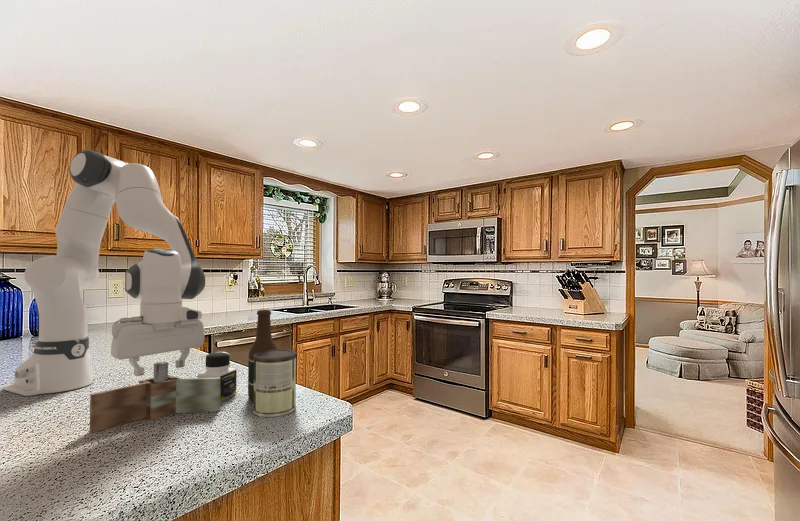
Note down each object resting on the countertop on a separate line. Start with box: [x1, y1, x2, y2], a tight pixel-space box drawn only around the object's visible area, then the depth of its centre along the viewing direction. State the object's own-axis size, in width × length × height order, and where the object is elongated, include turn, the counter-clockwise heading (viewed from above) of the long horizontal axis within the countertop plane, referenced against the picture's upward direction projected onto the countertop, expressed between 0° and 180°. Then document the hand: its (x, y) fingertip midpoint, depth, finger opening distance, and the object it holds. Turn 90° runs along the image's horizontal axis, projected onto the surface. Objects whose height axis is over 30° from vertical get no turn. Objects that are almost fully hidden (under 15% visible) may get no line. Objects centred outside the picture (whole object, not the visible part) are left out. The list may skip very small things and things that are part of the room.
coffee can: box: [252, 348, 298, 418], centre depth 98 cm, size 10×10×14 cm
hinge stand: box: [89, 374, 221, 434], centre depth 92 cm, size 23×14×8 cm, turn 147°
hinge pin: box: [153, 361, 169, 384], centre depth 96 cm, size 3×3×12 cm
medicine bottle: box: [197, 351, 237, 402], centre depth 108 cm, size 7×7×12 cm
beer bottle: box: [247, 309, 278, 403], centre depth 107 cm, size 8×8×24 cm
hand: (160, 371), depth 96 cm, fingers open, 8 cm apart
